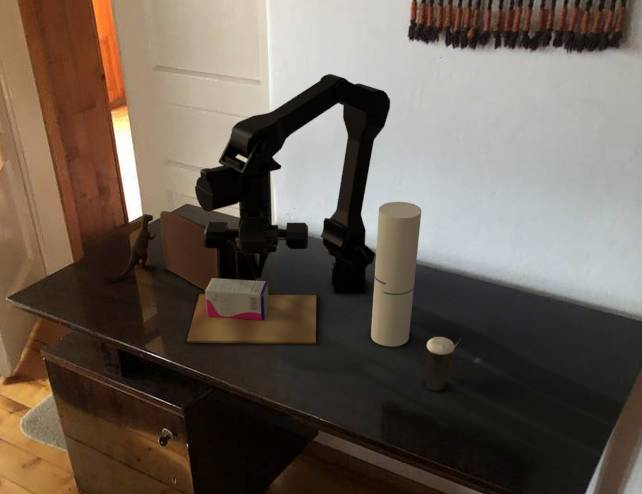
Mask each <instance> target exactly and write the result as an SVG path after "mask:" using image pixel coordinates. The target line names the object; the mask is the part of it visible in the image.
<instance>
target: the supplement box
mask: <svg viewBox="0 0 642 494" xmlns="http://www.w3.org/2000/svg"><path fill="white" fill-rule="evenodd" d="M204 294H205V295H206V305H207V315H208V316H210V317H225V318H240V319H253V320H265V317H266V314H267V311H268V308H269V299H268V295H269V281H265V280H256V281H250V280H234V279H217V278H212V279H211V281H210V283H209V285H208V287H207V289H206V290H204Z"/></svg>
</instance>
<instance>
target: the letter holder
mask: <svg viewBox="0 0 642 494" xmlns="http://www.w3.org/2000/svg"><path fill="white" fill-rule="evenodd" d="M159 218H160V231H161V232H160V233H161V245H162V255H163V256H162V257H163V267H164V269H165V270H167V271H169V272H171V273H173V274H174V275H176V276H178V277H180V278H181V279H184V280H185V281H187V282H189V283H190V284H192V285H194V286H196V287H197V288H199V289H201V290H203V291H205V290H206V289H207V287H208V285H209V283H210V281H211V279H212V278H217V279H234V280H250V281H257V278H256V277H255V275H254V272H253V270H252V268H251V265H250V263H249V261H248V259H247V258H246V256H245V255H244V254H242V253H241V252H237V251H236V246H237V243H236V240H225V245H224V246H223V247H222V248H205V247H204V240H203V236H204V231H205V228H206V225H207V224H206V225H205V224H201V223H198V222H196V221H195V220H192V219H191V218H188V217H186V216H183V215H181V214H178V213H175V212H171V211H167V210H162V211H160V214H159Z"/></svg>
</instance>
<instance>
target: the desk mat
mask: <svg viewBox="0 0 642 494" xmlns="http://www.w3.org/2000/svg"><path fill="white" fill-rule="evenodd" d="M268 299H269V308H268V311H267V314H266V317H265V320H253V319H240V318H225V317H210V316H208V315H207V305H206V295H205V293H200V294H199V295H198V298H197V302H196V307H195V310H194V313H193V317H192V321H191V325H190V328H189V332H188V336H187V339H186V343H187V344H259V345H260V344H265V345H267V344H268V345H269V344H271V345H274V344H275V345H317V295H316V294H268Z"/></svg>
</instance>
